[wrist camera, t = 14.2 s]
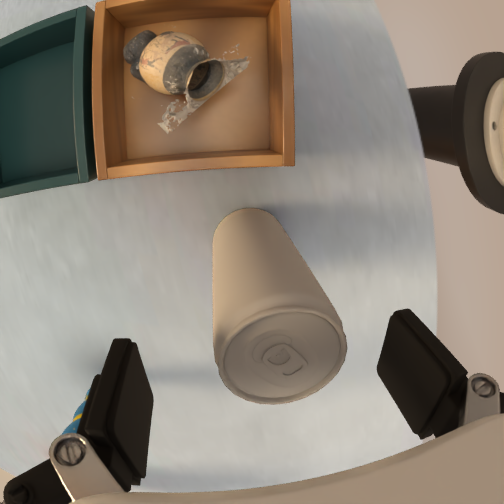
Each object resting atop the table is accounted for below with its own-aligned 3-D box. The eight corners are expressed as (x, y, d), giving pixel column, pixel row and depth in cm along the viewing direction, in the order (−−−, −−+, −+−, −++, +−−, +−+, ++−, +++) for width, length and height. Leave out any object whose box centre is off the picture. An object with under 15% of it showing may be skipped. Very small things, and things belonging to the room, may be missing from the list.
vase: (165, 138, 17) (107, 69, 15) (236, 84, 17) (179, 16, 14) (162, 138, 12) (84, 46, 10) (260, 66, 12) (183, -22, 9)
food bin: (273, 13, 15) (289, -14, 11) (277, 157, 19) (295, 166, 15) (119, 25, 14) (95, 2, 10) (122, 168, 18) (97, 180, 14)
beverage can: (254, 190, 20) (305, 274, 9) (296, 243, 22) (371, 358, 11) (197, 236, 21) (183, 361, 10) (243, 284, 22) (269, 421, 11)
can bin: (112, 26, 14) (87, 4, 10) (115, 169, 18) (89, 182, 14) (-2, 66, 13) (-39, 61, 9) (3, 190, 17) (-33, 206, 13)
